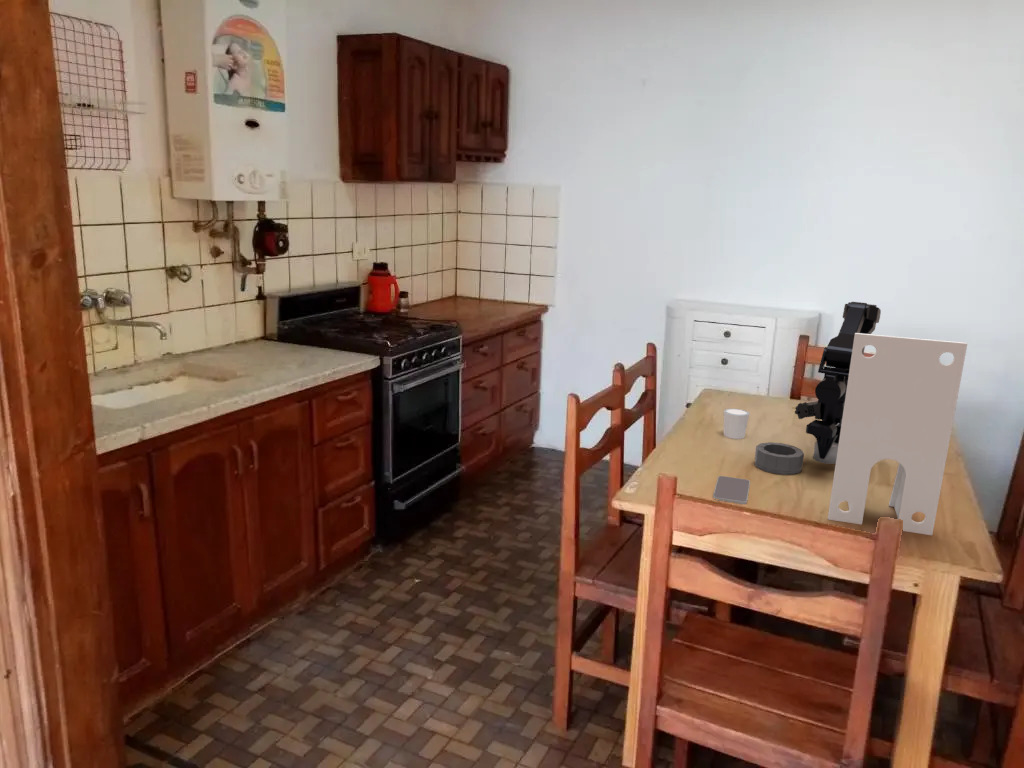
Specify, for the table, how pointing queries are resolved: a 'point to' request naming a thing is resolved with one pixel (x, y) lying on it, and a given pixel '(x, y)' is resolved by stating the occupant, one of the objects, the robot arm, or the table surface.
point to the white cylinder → (735, 423)
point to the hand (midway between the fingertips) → (826, 455)
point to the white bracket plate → (897, 425)
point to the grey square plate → (732, 489)
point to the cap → (830, 456)
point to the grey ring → (779, 458)
